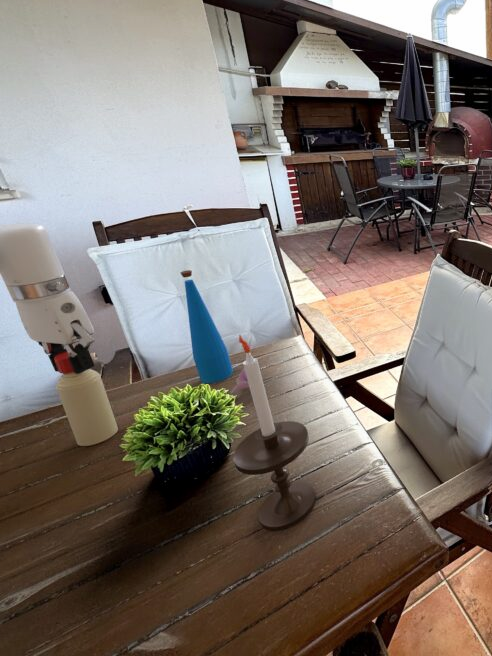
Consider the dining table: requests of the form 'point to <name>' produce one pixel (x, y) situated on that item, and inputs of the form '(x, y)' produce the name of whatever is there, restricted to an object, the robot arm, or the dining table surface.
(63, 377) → the sauce bottle
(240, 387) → the lily
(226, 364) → the bottle
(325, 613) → the dining table surface
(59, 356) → the cap
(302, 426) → the candlestick
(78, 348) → the robot arm
